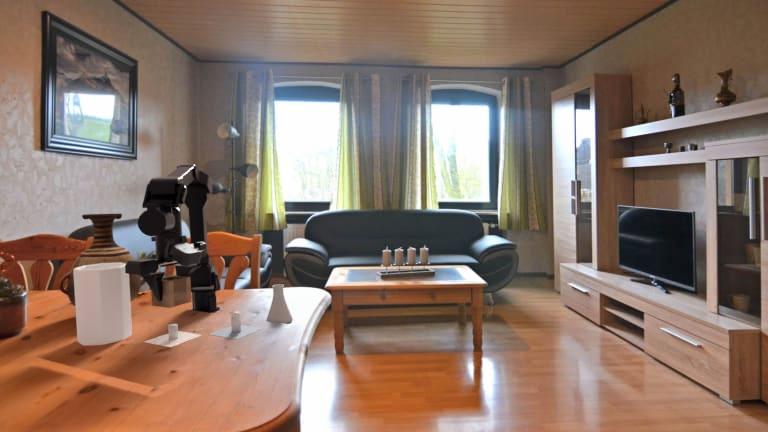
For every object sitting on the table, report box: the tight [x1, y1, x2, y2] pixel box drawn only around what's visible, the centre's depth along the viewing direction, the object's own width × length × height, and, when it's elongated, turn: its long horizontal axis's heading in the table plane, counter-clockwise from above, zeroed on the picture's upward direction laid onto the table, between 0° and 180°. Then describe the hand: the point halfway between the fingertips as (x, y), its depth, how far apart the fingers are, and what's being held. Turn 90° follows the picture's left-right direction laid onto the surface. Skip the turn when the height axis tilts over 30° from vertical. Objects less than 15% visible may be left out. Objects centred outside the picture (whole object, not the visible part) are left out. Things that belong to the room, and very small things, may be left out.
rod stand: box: [144, 323, 203, 348], centre depth 107 cm, size 9×9×4 cm
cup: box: [73, 263, 133, 346], centre depth 108 cm, size 11×11×18 cm
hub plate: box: [208, 311, 264, 340], centre depth 111 cm, size 9×9×6 cm
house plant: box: [134, 249, 156, 292], centre depth 161 cm, size 14×14×16 cm
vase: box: [58, 212, 146, 307], centre depth 132 cm, size 21×18×30 cm
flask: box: [265, 283, 293, 324], centre depth 123 cm, size 7×7×10 cm
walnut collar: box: [150, 274, 192, 309], centre depth 106 cm, size 6×6×6 cm
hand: (171, 298), depth 106 cm, fingers closed on walnut collar, 6 cm apart
